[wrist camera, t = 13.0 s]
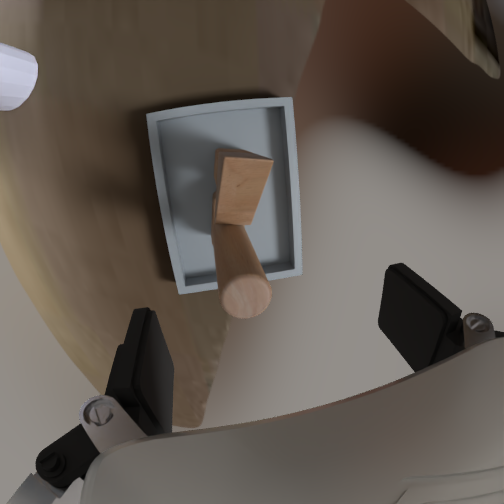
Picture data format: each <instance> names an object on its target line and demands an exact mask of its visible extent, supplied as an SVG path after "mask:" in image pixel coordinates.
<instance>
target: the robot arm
mask: <svg viewBox="0 0 504 504" xmlns="http://www.w3.org/2000/svg"><path fill="white" fill-rule="evenodd" d="M461 313H462V310H460V309H459V308H458V307H457V306H456V305H455V304H453V303H452V302H451V301H450V300H449V299H447V298H446V297H445V296H444V295H443V294H441V293H440V292H439V291H438V290H437V289H435V288H434V287H433V286H431V285H430V284H429V283H428V282H426V281H425V280H424V279H423V278H422V277H420V276H419V275H418V274H416V273H415V272H414V271H413V270H411V269H410V268H409V267H407V266H406V265H405V264H403V263H398V264H393V265H390V266H389V267H388V269H387V270H386V272H385V278H384V286H383V293H382V300H381V306H380V312H379V318H378V325H379V328H380V329H381V330H382V332H383V333H384V334H385V335H386V336H387V338H388V339H389V340H390V341H391V343H392V344H393V345H394V346H395V348H396V349H397V350H398V351H399V353H400V354H401V355H402V356H403V358H404V359H405V360H406V361H407V363H408V364H409V365H410V367H411V368H412V369H413V370H414V372H415V373H413V374H410V375H408V376H406V377H403V378H401V379H398V380H396V381H393V382H390V383H388V384H385V385H383V386H380V387H377V388H374V389H372V390H369V391H366V392H363V393H360V394H357V395H354V396H351V397H348V398H345V399H342V400H338V401H335V402H332V403H328V404H325V405H321V406H317V407H314V408H310V409H306V410H302V411H298V412H295V413H290V414H286V415H281V416H277V417H272V418H267V419H262V420H257V421H251V422H246V423H239V424H234V425H227V426H221V427H214V428H206V429H199V430H189V431H182V432H174V433H172V408H173V381H174V365H173V361H172V358H171V356H170V353H169V350H168V347H167V345H166V342H165V339H164V336H163V333H162V330H161V327H160V324H159V321H158V318H157V315H156V312H155V311H154V310H153V311H151V310H150V309H149V308H148V307H147V308H139V309H134V311H133V314H132V317H131V320H130V324H129V327H128V330H127V334H126V337H125V341H124V344H120V345H119V346H118V348H117V351H116V355H115V358H114V362H113V365H112V369H111V373H110V376H109V380H108V384H107V388H106V392H105V395H99V396H95V397H92V398H90V399H89V400H87V401H86V402H85V403H84V404H83V405H82V407H81V409H80V412H79V420H80V422H81V424H79V425H78V426H77V427H75V428H74V429H72V430H71V431H70V432H68V433H66V434H65V435H64V436H62V437H61V438H59V439H58V440H56V441H55V442H53V443H52V444H50V445H49V446H48V447H46V448H45V449H43V450H42V451H41V452H40V453H39V455H38V457H37V459H36V470H37V472H36V473H35V474H34V475H33V474H32V473H31V474H30V475H29V476H28V477H27V478H26V480H25V481H24V482H23V483H22V484H21V486H20V487H19V488H18V489H17V491H16V492H15V493H14V495H13V496H12V497H11V498H10V499H9V501H8V502H7V504H504V332H500V331H494V327H493V324H492V322H491V321H490V319H489V318H487V317H486V316H484V315H482V314H479V313H469V314H467V315H465V316H464V318H463V319H461V318H460V316H461Z"/></svg>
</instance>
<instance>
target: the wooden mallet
mask: <svg viewBox="0 0 504 504" xmlns="http://www.w3.org/2000/svg"><path fill="white" fill-rule="evenodd" d="M273 162H274V160H272V159H270V158H267V157H264V156H261V155H258V154H255V153H252V152H249V151H246V150H242V149H224V148H218V149H216V151H215V162H214V179H215V183H216V191H215V192H214V193H213V198H212V220H211V241H212V245H213V248H214V257H215V266H216V275H217V284H218V292H219V300H220V304H221V306H222V307H223V309H224V310H225V311H226V312H227V313H228V314H230V315H231V316H234V317H236V318H243V319H246V318H252V317H255V316H257V315H259V314H260V313H262V312H263V311H264V310H265V309H266V308H267V306H268V305H269V303H270V300H271V297H272V289H271V286H270V284H269V282H268V279H267V277H266V275H265V273H264V270H263V268H262V266H261V264H260V261H259V259H258V257H257V255H256V252H255V250H254V248H253V246H252V243H251V241H250V239H249V237H248V235H247V232H246V230H245V225H251V223H252V221H253V218H254V215H255V212H256V209H257V207H258V204H259V201H260V198H261V196H262V193H263V190H264V187H265V184H266V182H267V179H268V176H269V173H270V171H271V168H272V165H273Z"/></svg>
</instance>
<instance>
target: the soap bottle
mask: <svg viewBox="0 0 504 504" xmlns="http://www.w3.org/2000/svg"><path fill="white" fill-rule="evenodd" d="M37 77H38V64H37V62H36V59H35V57H34V56H33V55H31V54H30V53H28V52H26V51H23V50H20V49H18V48H15V47H12V46H9V45H6V44H3V43H0V110H6V111H11V110H13V109H15V108H17V107H19V106H20V105H21V104H22V103H23V102H24V101H25V100H26V99H27V98H28V97H29V95H30V94H31V92H32V90H33V89H34V86H35V83H36V80H37Z"/></svg>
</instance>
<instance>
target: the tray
mask: <svg viewBox="0 0 504 504" xmlns="http://www.w3.org/2000/svg"><path fill="white" fill-rule="evenodd" d="M146 117H147V125H148V133H149V141H150V148H151V155H152V162H153V168H154V175H155V181H156V187H157V193H158V198H159V204H160V209H161V215H162V220H163V225H164V230H165V235H166V240H167V244H168V249H169V254H170V258H171V263H172V267H173V271H174V276H175V280H176V284H177V288H178V292H179V294H186V293H193V292H200V291H206V290H213V289H218V284H217V275H216V266H215V257H214V248H213V245H212V241H211V220H212V198H213V193H214V192H215V191H216V183H215V179H214V162H215V151H216V149H218V148H224V149H242V150H246V151H249V152H252V153H255V154H258V155H261V156H264V157H267V158H270V159H272V160H274V162H273V165H272V168H271V171H270V173H269V176H268V179H267V182H266V184H265V187H264V190H263V193H262V196H261V198H260V201H259V204H258V207H257V209H256V212H255V215H254V218H253V221H252V223H251V225H245V230H246V232H247V235H248V237H249V239H250V241H251V243H252V246H253V248H254V250H255V252H256V255H257V257H258V259H259V261H260V264H261V266H262V268H263V270H264V273H265V275H266V277H267V279H268V281H269V280H274V279H281V278H286V277H292V276H298V275H302V238H301V214H300V194H299V177H298V162H297V148H296V135H295V123H294V113H293V102H292V97H284V98H262V99H247V100H236V101H226V102H217V103H208V104H201V105H194V106H187V107H181V108H175V109H169V110H164V111H159V112H154V113H149V114H146Z"/></svg>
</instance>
